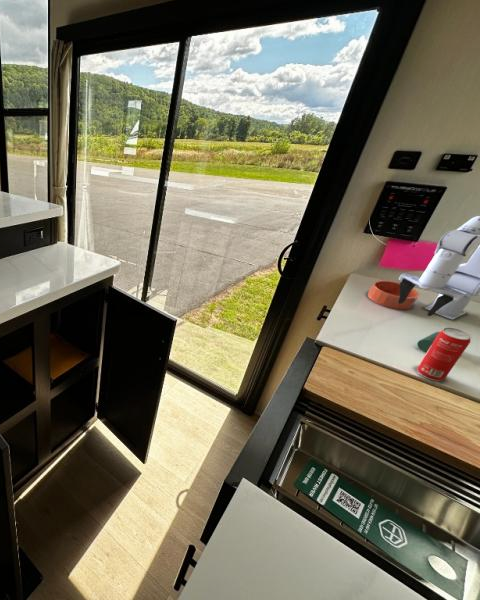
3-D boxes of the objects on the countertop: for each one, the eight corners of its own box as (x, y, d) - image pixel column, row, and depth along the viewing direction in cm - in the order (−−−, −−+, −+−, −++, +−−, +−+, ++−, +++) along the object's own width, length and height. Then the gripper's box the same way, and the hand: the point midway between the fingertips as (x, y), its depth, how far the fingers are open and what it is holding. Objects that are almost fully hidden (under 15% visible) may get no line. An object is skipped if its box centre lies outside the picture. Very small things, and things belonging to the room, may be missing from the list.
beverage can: (448, 383, 88) (484, 342, 80) (421, 380, 89) (453, 339, 81) (433, 368, 93) (465, 327, 85) (407, 365, 94) (437, 325, 86)
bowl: (380, 288, 130) (386, 277, 128) (419, 304, 120) (427, 292, 117) (360, 295, 126) (365, 285, 123) (399, 313, 116) (406, 301, 113)
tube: (430, 338, 104) (437, 329, 102) (445, 346, 101) (453, 336, 98) (414, 346, 101) (421, 337, 99) (430, 354, 98) (437, 344, 96)
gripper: (402, 263, 98) (381, 300, 105) (465, 284, 87) (437, 324, 94) (415, 259, 100) (394, 295, 108) (478, 279, 89) (449, 317, 96)
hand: (414, 308), depth 101 cm, fingers open, 7 cm apart
